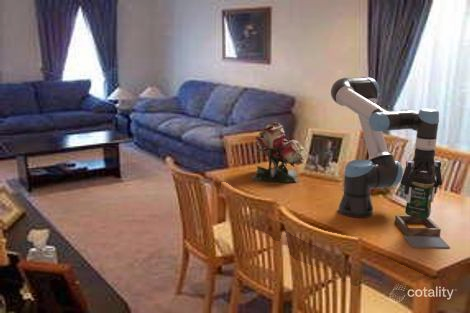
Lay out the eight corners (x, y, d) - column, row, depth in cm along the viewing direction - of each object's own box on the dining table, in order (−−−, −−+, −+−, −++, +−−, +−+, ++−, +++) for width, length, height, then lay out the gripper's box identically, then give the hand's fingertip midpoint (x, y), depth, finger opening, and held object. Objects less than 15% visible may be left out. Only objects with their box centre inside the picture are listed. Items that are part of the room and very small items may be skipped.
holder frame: (406, 236, 201) (407, 229, 200) (394, 221, 216) (395, 215, 215) (439, 236, 201) (440, 229, 200) (425, 221, 216) (426, 215, 215)
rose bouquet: (306, 183, 268) (309, 128, 261) (252, 182, 268) (253, 127, 261) (300, 169, 293) (303, 119, 285) (250, 169, 293) (251, 118, 285)
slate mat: (412, 248, 190) (412, 246, 190) (404, 237, 200) (404, 235, 200) (449, 248, 190) (449, 246, 190) (439, 237, 200) (439, 236, 200)
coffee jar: (402, 215, 207) (407, 172, 202) (409, 209, 213) (413, 167, 208) (426, 220, 201) (431, 176, 197) (432, 215, 207) (437, 172, 203)
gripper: (402, 150, 195) (397, 205, 201) (456, 150, 197) (449, 204, 203) (395, 146, 203) (389, 198, 208) (446, 145, 204) (440, 197, 210)
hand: (419, 201), depth 206 cm, fingers closed on coffee jar, 9 cm apart
